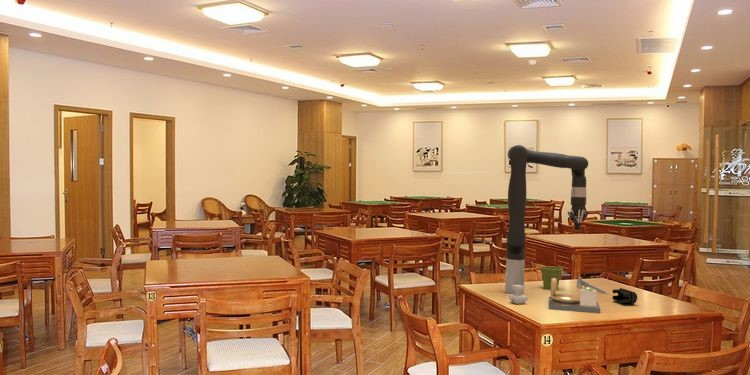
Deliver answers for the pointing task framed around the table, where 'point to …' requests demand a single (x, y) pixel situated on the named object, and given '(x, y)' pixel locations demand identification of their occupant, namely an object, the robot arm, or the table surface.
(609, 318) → the table surface
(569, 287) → the table surface
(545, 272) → the plant pot
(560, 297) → the brass dish with post
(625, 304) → the end cap
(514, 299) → the white rounded piece
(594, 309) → the base
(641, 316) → the table surface
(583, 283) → the caliper
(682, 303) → the table surface
